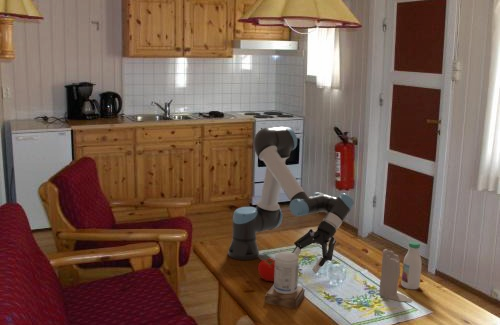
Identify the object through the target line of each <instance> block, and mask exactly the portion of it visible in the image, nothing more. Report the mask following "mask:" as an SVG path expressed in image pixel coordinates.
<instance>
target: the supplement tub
mask: <svg viewBox="0 0 500 325" xmlns="http://www.w3.org/2000/svg"><path fill="white" fill-rule="evenodd" d="M274 260H275V272H274V281H273V285H274V289H275V291H277V292H278V293H281V294H292V293H294V292H296V291H297V286H298V281H299V255H297V254H295V253H293V252H290V251H281V252H277V253H276V254H275V258H274Z"/></svg>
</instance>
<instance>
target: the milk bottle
mask: <svg viewBox="0 0 500 325" xmlns="http://www.w3.org/2000/svg"><path fill="white" fill-rule="evenodd" d="M420 247H421V244H420V242H417V241H409V243H408V251H407V253H406V254H405V256H404V258H403V264H402V272H401V273H402V274H401V284H400V285H401V287H402V288H405V289H408V290H418V289H419V288H420V283H421V276H422V275H421V274H422V262H423V261H422V257H421V254H420Z"/></svg>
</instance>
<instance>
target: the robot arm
mask: <svg viewBox="0 0 500 325" xmlns="http://www.w3.org/2000/svg"><path fill="white" fill-rule="evenodd" d="M297 146H298V137H297V134H296V132H295V130H293V129H292V128H291V127H289V126H279V127H278V126H277V127H264V128H261V129H260V130H258V131H257V133H256V134H255V136H254V139H253V149H254V152H255V154H256V156H257V158H258V159H259V160H260V161H263V163H264V165H265V166H266V169H265V173H264V179H263V185H262V189H261V196H260V200H258V201H257V203H256V207H254V206H241V207H238V208H236V209H235V210H234V212H233V216H232V239H231V242H230V245H229V247H228V253H227V254H228V256H229V257H230V258H232V259H234V260H239V261H251V260H256V259H257V258H259V256H260V249H259V247H258V242H257V233H261V232H266V231H271V230H274V229H277V228H278V227H279V226H280V225H281V224H282V222H283V211H282V210H281V208H280V207H281V206H280V204H279V203H278V202H279V197H280V193H281V190H282V191H283V192H284V194H285V195H286V197H287V198H288V200H289V211H290V213H291V214H292V215H293V216H295V217H305V216H307V215H311V214H317V213H322V212H323V213H324V212H325V213H326V214H325V216H324V217H323V218H322V221H320V223H319V224H318V226H317V229H316V230H315V231H314V230H313V229H312V228H310V229H309V230H308V231H307V233H304V235H302V236H301V237H300V238H299V239H297V240H295V241H294V245H295V248H294V249H293V250H292V253H295V254H297V255H298V256H300V254H301V252H302V249H304V248H306V247H308V246H310V245H312V244H317V245H319V246H321V252H322V255H321V256H320V257H319V258H318V260H317V261H316V263H315V264H314V265H313V267H312V269H311V271H313V273H314V274H318V272H319V270H320V268H322V267H324V265H325V264H326V262H327V261H330V262H332V260H333V256H334V251H335V250H334V249H335V246H336V245H335V244H336V242H337V240H336V239H335V237H334V236H335V234H336V232H337V230H338V229H339V228H340V227H341V225H342V223H343V222H344V220H345V219H346V217H347V216H348V215H349V213H350V212H351V211H352V208H353V206H354V204H355V201H354V199H353V198H352V197H351V196H350V195H349V194H347V193H344V192H343V193H342V192H341V193H339V195H337V197H336V196H332V195H330V194H327V193H324V192H318V191H317V192H316V191H315V192H314V193H313V194H312V195H311V196H308V194H307V193H306V192H305V190H304V189H303V187H302V185H301V184H300V183H299V182H298V180H297V179H296V177H295V175H294V174H293V173H292V172H291V170H290V168H289V167H288V166H287V164H286V161H287V159H289V158H290V156H291V152H292V151H294V150H295V149H296V148H297Z"/></svg>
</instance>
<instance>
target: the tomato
mask: <svg viewBox="0 0 500 325" xmlns="http://www.w3.org/2000/svg"><path fill="white" fill-rule="evenodd" d="M257 266H258V267H257V268H258V269H257V270H258V274H259V276H260V277H261V279H263V280H264V281H266V282H274V272H275V259H273V258H265V259H263V260H261V261H260V262H259V263H258V265H257Z"/></svg>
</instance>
